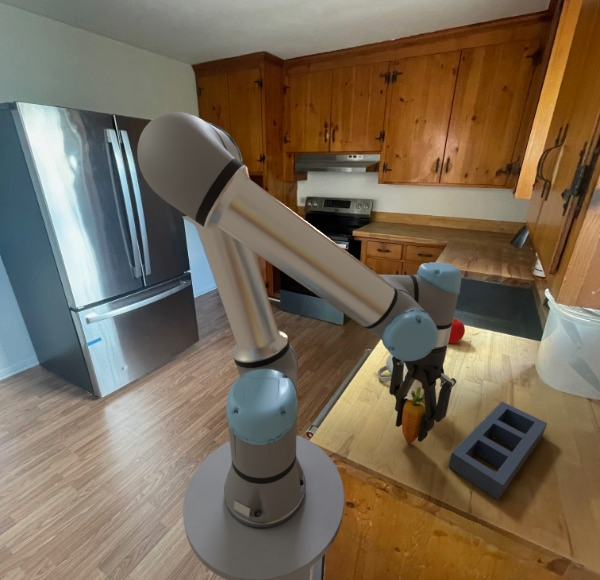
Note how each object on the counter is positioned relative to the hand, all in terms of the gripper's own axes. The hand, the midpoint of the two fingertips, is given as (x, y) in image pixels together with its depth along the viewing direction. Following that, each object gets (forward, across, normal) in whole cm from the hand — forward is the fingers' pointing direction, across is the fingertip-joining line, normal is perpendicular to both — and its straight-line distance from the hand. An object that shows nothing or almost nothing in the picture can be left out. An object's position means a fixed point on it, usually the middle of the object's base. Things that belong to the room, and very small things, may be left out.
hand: (411, 430), depth 74 cm
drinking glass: (+4, +9, -15) cm, 18 cm away
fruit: (+4, +19, -55) cm, 58 cm away
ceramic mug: (+4, +17, -19) cm, 26 cm away
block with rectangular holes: (+4, -14, -14) cm, 20 cm away
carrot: (+4, 0, 0) cm, 4 cm away
